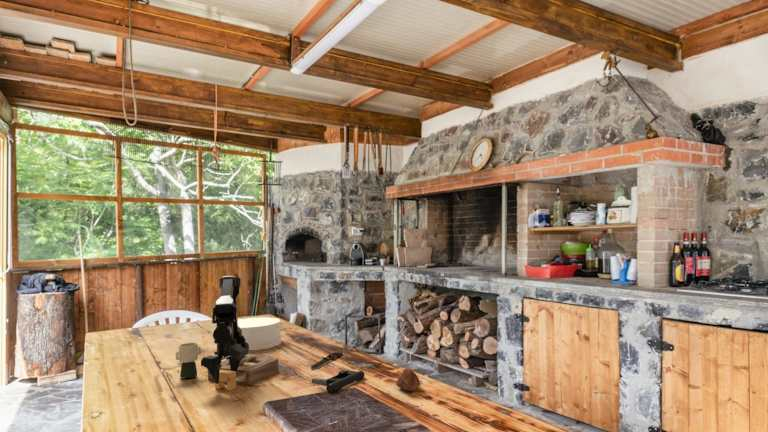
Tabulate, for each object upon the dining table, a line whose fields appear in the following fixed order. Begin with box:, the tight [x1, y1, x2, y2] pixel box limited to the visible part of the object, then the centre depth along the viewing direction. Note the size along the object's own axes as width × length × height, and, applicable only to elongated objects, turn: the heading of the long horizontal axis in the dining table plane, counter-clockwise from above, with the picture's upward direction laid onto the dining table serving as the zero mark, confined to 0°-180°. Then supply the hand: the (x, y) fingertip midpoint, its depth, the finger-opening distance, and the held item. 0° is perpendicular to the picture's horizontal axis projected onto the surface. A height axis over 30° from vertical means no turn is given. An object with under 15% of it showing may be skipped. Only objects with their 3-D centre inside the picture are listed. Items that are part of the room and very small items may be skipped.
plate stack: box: [238, 316, 282, 351], centre depth 240 cm, size 28×28×12 cm
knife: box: [310, 351, 344, 371], centre depth 202 cm, size 26×7×2 cm, turn 154°
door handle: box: [311, 369, 365, 393], centre depth 172 cm, size 3×20×16 cm
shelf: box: [207, 353, 279, 385], centre depth 185 cm, size 20×18×7 cm
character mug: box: [175, 342, 202, 379], centre depth 185 cm, size 11×7×13 cm, turn 147°
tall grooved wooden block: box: [214, 370, 237, 391], centre depth 170 cm, size 7×3×6 cm, turn 67°
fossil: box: [395, 368, 421, 392], centre depth 163 cm, size 13×8×10 cm
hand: (225, 379), depth 170 cm, fingers open, 8 cm apart
